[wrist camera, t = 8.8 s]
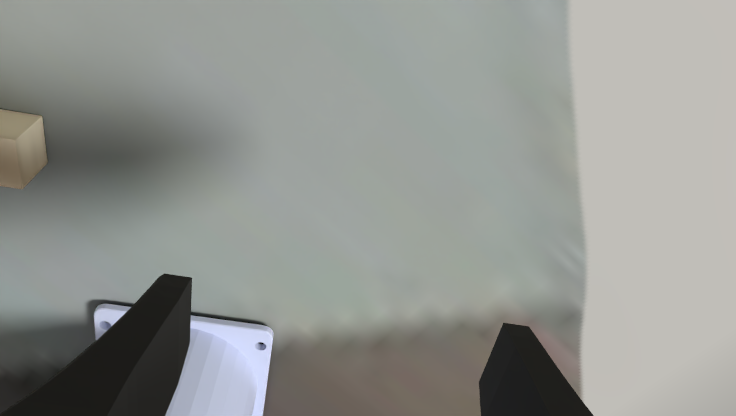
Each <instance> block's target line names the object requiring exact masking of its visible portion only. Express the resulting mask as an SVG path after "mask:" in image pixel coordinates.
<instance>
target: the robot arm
mask: <svg viewBox="0 0 736 416" xmlns="http://www.w3.org/2000/svg"><path fill="white" fill-rule="evenodd" d="M191 290H192V278H190V277H183V276H177V275H170V274H163V275H161V276H160V277H159V278H158V279H157V280H156V281H155V282H154V283H153V284H152V286H151V287H150V288H149V289H148V290H147V291H146V292H145V293H144V294H143V295H142V296H141V298H140V299H139V300H138V301H137V302H136V303H135V304H134V305H133V306H132V307H127V306H120V305H113V304H101V305H99V306H98V307H97V308H96V310H95V311H94V326H95V337H96V341H95V342H94V343H93V344H92V345H91V346H90V347H88V348H87V349H86V350H85V351H84V352H83V353H81V354H80V355H79V356H78V357H77V358H76V359H74V360H73V361H72V362H71V363H70V364H68V365H67V366H66V367H65V368H63V369H62V370H61V371H60V372H58V373H57V374H56V375H55V376H53V377H52V378H51V379H49V380H48V381H47V382H45V383H44V384H43V385H41V386H40V387H39V388H37V389H36V390H35V391H33V392H32V393H30V394H29V395H28V396H26V397H25V398H23V399H22V400H20V401H19V402H17V403H16V404H14V405H13V406H11V407H10V408H8V409H7V410H5V411H4V412H2V413H1V414H0V416H263V410H264V402H265V395H266V387H267V380H268V372H269V365H270V357H271V350H272V342H273V331H272V329H271V328H269V327H268V326H264V325H258V324H250V323H243V322H236V321H229V320H221V319H214V318H207V317H200V316H192V315H191ZM104 321H106V322H109V323H110V324H109V323H106V322H104ZM258 342H262V343H264V344H259V343H258ZM479 389H480V406H481V416H593V414H592V413H591V412H590V411H589V409H588V408H587V407H586V406H585V404H584V403H583V402H582V400H581V399H580V398H579V396H578V395H577V394H576V392H575V391H574V390H573V388H572V387H571V386H570V384H569V383H568V381H567V380H566V379H565V377H564V376H563V375H562V373H561V372H560V370H559V369H558V368H557V366H556V365H555V363H554V362H553V360H552V359H551V358H550V356H549V355H548V353H547V352H546V350H545V349H544V348H543V346H542V345H541V343H540V342H539V340H538V339H537V337H536V336H535V335H534V333H533V332H532V330H531V329H530V328H529V327H528V326H522V325H515V324H508V323H503V325H502V328H501V330H500V333H499V335H498V337H497V340H496V342H495V345H494V347H493V350H492V352H491V354H490V357H489V359H488V362H487V364H486V366H485V369H484V371H483V374H482V376H481V379H480V381H479Z"/></svg>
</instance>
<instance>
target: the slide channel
mask: <svg viewBox="0 0 736 416" xmlns="http://www.w3.org/2000/svg"><path fill="white" fill-rule="evenodd" d="M47 163H48V161H47V152H46V144H45V136H44V127H43V119H42V116H39V115H33V114H27V113H21V112H15V111H9V110H3V109H0V186H4V187H10V188H17V189H23V188H24V187H25V186H26V185H27V184H28V183H29V182H30V181H31V180H32V179H33V178H34V177H35V176H36V175H37V174H38V173H39V171H40V170H41V169H42V168H43V167H44V166H45V165H46V164H47Z"/></svg>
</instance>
